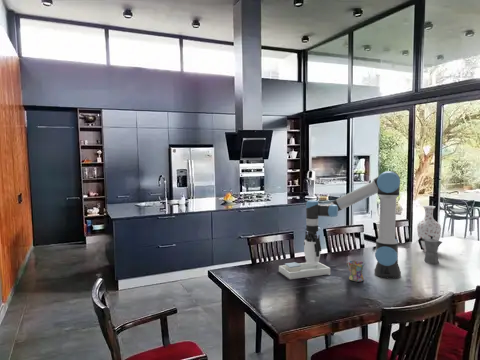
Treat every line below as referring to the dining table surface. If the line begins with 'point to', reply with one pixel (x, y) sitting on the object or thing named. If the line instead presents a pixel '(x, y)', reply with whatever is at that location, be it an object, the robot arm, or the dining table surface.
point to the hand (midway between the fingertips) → (312, 259)
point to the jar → (310, 252)
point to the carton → (292, 269)
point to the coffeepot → (430, 249)
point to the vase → (428, 226)
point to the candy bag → (356, 270)
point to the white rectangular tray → (306, 271)
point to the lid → (292, 265)
